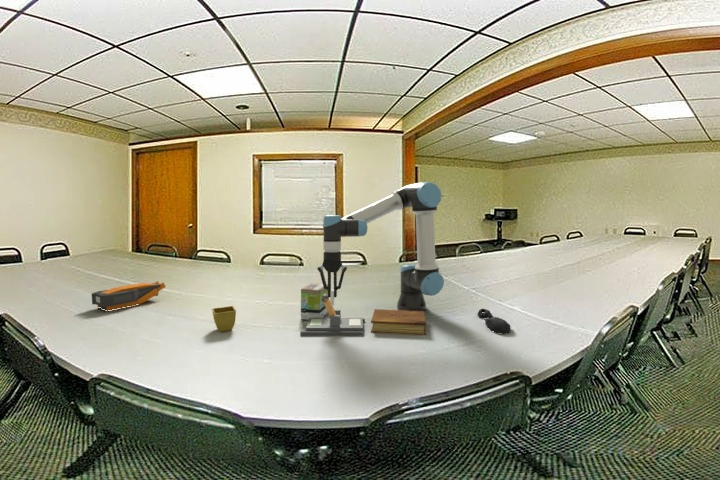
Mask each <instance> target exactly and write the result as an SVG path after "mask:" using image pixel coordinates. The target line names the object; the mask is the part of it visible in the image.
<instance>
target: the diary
mask: <svg viewBox="0 0 720 480" xmlns="http://www.w3.org/2000/svg"><path fill="white" fill-rule="evenodd" d="M371 316H372V317H371V319H370V324H372V327H371V331H370V333H371V334H373V333H374V334H390V335H391V334H394V335H395V334H396V335H411V336H413V335H414V336H426V335H427V333H426V326H427V325H426V324H427V323H426V313H425V310H424V311H406V310H399V309H381V308H380V309H379V308H377V309H374V310H373V313H372V315H371Z"/></svg>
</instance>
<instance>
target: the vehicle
mask: <svg viewBox="0 0 720 480" xmlns="http://www.w3.org/2000/svg"><path fill="white" fill-rule="evenodd" d="M166 287H167V286H166V285H165V283H164V282H161V283H160V282H159V281H156V282H155V281H154V282H153V283H151V282H147V283H146V282H141V283H134V284H129V285H123V286H118V287H113V288H110V289H104V290H99V291H95V292H92V293H91V304H92V305H97V308H98V307H101V308H102V309H105V310H107V311H108V310H112V309H117V308H122V307H127V306H132V305H136V304H140V305H142V304H144V303H145V302H147V301H149V300H151V299H152V298H153V297H157V296H159V293H160V291H162V290H164V289H165V288H166ZM141 303H142V304H141ZM107 311H106V312H107Z"/></svg>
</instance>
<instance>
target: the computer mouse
mask: <svg viewBox="0 0 720 480" xmlns="http://www.w3.org/2000/svg"><path fill="white" fill-rule="evenodd" d="M482 312H485V313H482ZM478 316H479V317H481V318H486V319H484V321H485V322H484V324H485V326H486V325H487V326H486V327H487V329H488V328H489V329H490V330H491V331H490V330H489V329H488V330H489V331H490V332H492V331H494V332H496V333H495V334H497V333H507V334H509V333H511V324H509V323H508V322H507V321H506V320H505V319H503V318H500V317H498V316H494V317H492V316H493V313H491V310H489V309H487V308H486V309H485V308H481V309H479V310H478V312H477V317H478ZM479 317H478V318H479ZM481 318H480V319H481ZM494 332H493V333H494Z"/></svg>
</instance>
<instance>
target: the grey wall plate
mask: <svg viewBox="0 0 720 480" xmlns="http://www.w3.org/2000/svg"><path fill="white" fill-rule="evenodd" d="M362 318H363V317H362ZM309 319H310V318H309ZM309 319H308V320H307V323H308V322H309ZM365 320H366V319H365V318H363V323H365ZM299 335H300V336H301V337H302V336H303V337H305V336H307V337H308V336H309V337H310V336H311V337H312V336H314V337H315V336H316V337H317V336H319V337H320V336H321V337H324V336H333V337H335V336H340V337H341V336H345V337H346V336H349V337H352V336H353V337H354V336H358V337H359V336H364V330H363V331H306V330H305V331H304V330H301V331H300V334H299Z"/></svg>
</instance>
